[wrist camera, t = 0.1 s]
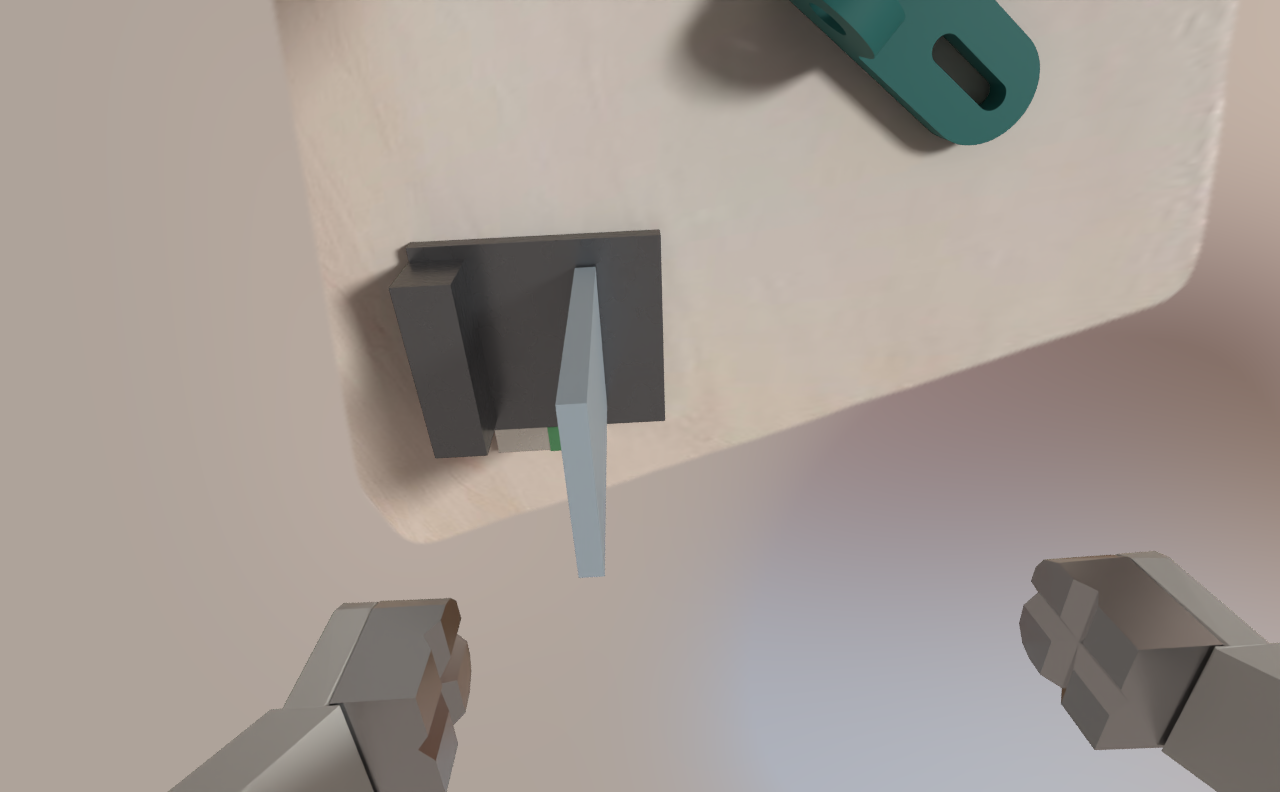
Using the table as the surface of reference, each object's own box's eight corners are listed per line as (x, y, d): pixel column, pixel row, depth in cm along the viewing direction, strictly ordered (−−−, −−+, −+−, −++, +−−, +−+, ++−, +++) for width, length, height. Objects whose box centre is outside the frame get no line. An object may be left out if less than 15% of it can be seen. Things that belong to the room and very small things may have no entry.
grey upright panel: (574, 268, 45) (555, 405, 30) (595, 266, 45) (586, 403, 30) (592, 445, 54) (584, 622, 38) (610, 444, 54) (609, 621, 39)
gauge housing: (410, 242, 45) (384, 273, 40) (659, 229, 45) (665, 258, 40) (460, 449, 55) (445, 495, 50) (664, 438, 55) (669, 482, 50)
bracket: (766, -21, 38) (798, -25, 31) (846, -140, 35) (901, -172, 28) (959, 159, 44) (1020, 187, 37) (1041, 70, 41) (1124, 84, 34)
